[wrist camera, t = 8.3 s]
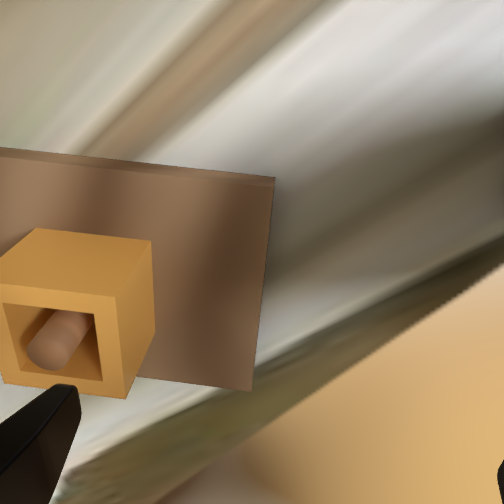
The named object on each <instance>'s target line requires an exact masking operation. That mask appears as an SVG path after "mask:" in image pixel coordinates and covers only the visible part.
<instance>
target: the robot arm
mask: <svg viewBox="0 0 504 504" xmlns="http://www.w3.org/2000/svg"><path fill="white" fill-rule="evenodd" d="M81 413H82V412H81V405H80V399H79V394H78V389H77V387H76V386H74V385H69V384H62V383H58V384H55V385H53V386H52V387H50V388H49V389H47V390H46V391H45V392H43V393H42V394H40V395H39V396H38V397H36V398H35V399H34V400H32V401H31V402H29V403H28V404H27V405H25V406H24V407H23V408H21V409H20V410H18V411H17V412H16V413H14V414H13V415H12V416H10V417H9V418H7V419H6V420H5V421H3V422H2V423H0V504H49V502H50V500H51V497H52V495H53V493H54V490H55V488H56V485H57V483H58V480H59V477H60V475H61V472H62V469H63V467H64V464H65V461H66V458H67V456H68V453H69V450H70V448H71V445H72V442H73V440H74V437H75V434H76V432H77V429H78V426H79V423H80V420H81ZM497 479H498V485H499V490H500V494H501V499H502V503H503V504H504V460H503V462H502V464H501V465H500V467H499V469H498V473H497Z"/></svg>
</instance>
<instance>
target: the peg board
mask: <svg viewBox="0 0 504 504" xmlns="http://www.w3.org/2000/svg"><path fill="white" fill-rule="evenodd" d="M274 184H275V177H268V176H259V175H249V174H240V173H231V172H222V171H213V170H204V169H195V168H186V167H177V166H168V165H158V164H149V163H140V162H131V161H122V160H113V159H104V158H95V157H86V156H77V155H67V154H58V153H49V152H40V151H31V150H22V149H13V148H4V147H0V257H2V256H3V255H4V254H5V253H6V252H8V251H9V250H10V249H11V248H12V247H14V246H15V245H16V244H17V243H18V242H20V241H21V240H22V239H23V238H24V237H26V236H27V235H28V234H29V233H30V232H31V231H33V230H34V229H35V228H43V229H51V230H60V231H69V232H78V233H86V234H95V235H104V236H113V237H121V238H130V239H139V240H148V241H151V251H152V272H153V293H154V314H155V334H154V337H153V339H152V341H151V343H150V346H149V348H148V350H147V352H146V355H145V357H144V359H143V361H142V364H141V366H140V368H139V370H138V373H137V375H136V376H137V377H144V378H152V379H160V380H167V381H175V382H182V383H190V384H197V385H205V386H212V387H220V388H227V389H235V390H242V391H250V392H251V388H252V380H253V372H254V363H255V354H256V345H257V336H258V327H259V318H260V310H261V301H262V292H263V283H264V274H265V265H266V256H267V247H268V238H269V229H270V220H271V211H272V202H273V193H274ZM94 321H95V318H94V314H92V313H84V312H76V311H68V310H59V309H56V311H55V312H54V313H53V314H52V316H51V317H50V318H49V319H48V321H47V322H46V323H45V324H44V326H43V327H42V328H41V329H40V331H39V332H38V333H37V334H36V336H35V337H34V338H33V339H32V341H31V342H30V343H29V344H28V346H27V355H28V357H29V359H30V360H31V361H32V362H33V363H34V364H35V365H37V366H38V367H40V368H43V369H46V370H51V371H56V370H60V369H62V368H63V367H64V366H65V365H66V364H67V362H68V361H69V359H70V358H71V356H72V354H73V353H74V351H75V350H76V348H77V347H78V345H79V344H80V342H81V341H82V339H83V338H84V336H85V335H86V333H87V332H88V330H89V329H90V327H91V325H92V324H93V322H94Z"/></svg>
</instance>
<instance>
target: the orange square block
mask: <svg viewBox="0 0 504 504" xmlns="http://www.w3.org/2000/svg"><path fill="white" fill-rule="evenodd" d="M56 309H59V310H68V311H76V312H84V313H92V314H94V318H95V321H94V322H93V324H92V325H91V327H90V329H89V330H88V332H87V333H86V335H85V336H84V338H83V339H82V341H81V342H80V344H79V345H78V347H77V348H76V350H75V351H74V353H73V354H72V356H71V358H70V359H69V361H68V362H67V364H66V365H65V366H64V367H63V368H62V369H60V370H56V371H51V370H46V369H43V368H40V367H38V366H37V365H35V364H34V363H33V362H32V361H31V360H30V359H29V357H28V355H27V346H28V344H29V343H30V342H31V341H32V339H33V338H34V337H35V336H36V334H37V333H38V332H39V331H40V329H41V328H42V327H43V326H44V324H45V323H46V322H47V321H48V319H49V318H50V317H51V316H52V314H53V313H54V312H55V311H56ZM154 334H155V314H154V293H153V272H152V251H151V241H148V240H139V239H130V238H121V237H113V236H104V235H95V234H86V233H78V232H69V231H60V230H51V229H43V228H35V229H34V230H33V231H31V232H30V233H29V234H28V235H27V236H26V237H24V238H23V239H22V240H21V241H20V242H18V243H17V244H16V245H15V246H14V247H12V248H11V249H10V250H9V251H8V252H6V253H5V254H4V255H3V256H2V257H0V371H1V375H2V378H3V381H4V383H6V384H13V385H21V386H29V387H36V388H44V389H49V388H50V387H52V386H53V385H55V384H58V383H62V384H69V385H74V386H76V387H77V389H78V393H82V394H89V395H97V396H104V397H112V398H119V399H126V397H127V395H128V393H129V391H130V388H131V386H132V384H133V382H134V379H135V377H136V375H137V373H138V370H139V368H140V366H141V364H142V361H143V359H144V357H145V355H146V352H147V350H148V348H149V346H150V343H151V341H152V339H153V337H154Z"/></svg>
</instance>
